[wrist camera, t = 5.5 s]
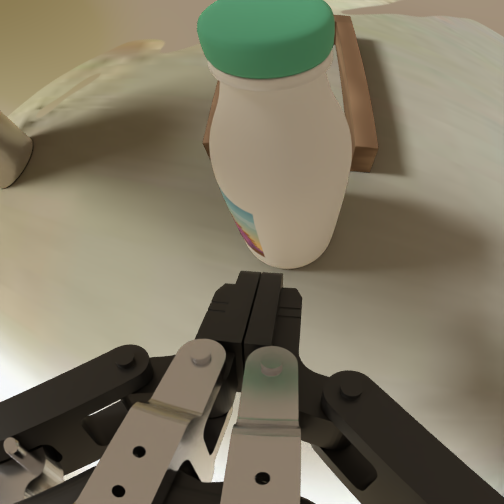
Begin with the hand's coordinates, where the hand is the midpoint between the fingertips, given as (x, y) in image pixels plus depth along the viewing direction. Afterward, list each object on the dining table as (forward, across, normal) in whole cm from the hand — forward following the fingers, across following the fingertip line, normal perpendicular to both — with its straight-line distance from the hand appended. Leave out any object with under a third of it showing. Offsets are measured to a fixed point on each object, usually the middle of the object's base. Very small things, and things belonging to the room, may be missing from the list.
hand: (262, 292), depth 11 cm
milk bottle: (+16, 0, +4) cm, 16 cm away
